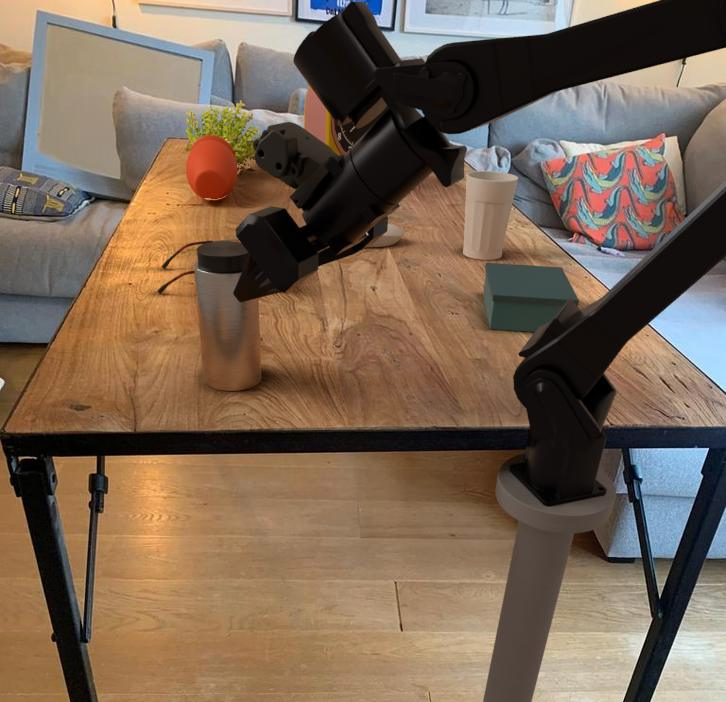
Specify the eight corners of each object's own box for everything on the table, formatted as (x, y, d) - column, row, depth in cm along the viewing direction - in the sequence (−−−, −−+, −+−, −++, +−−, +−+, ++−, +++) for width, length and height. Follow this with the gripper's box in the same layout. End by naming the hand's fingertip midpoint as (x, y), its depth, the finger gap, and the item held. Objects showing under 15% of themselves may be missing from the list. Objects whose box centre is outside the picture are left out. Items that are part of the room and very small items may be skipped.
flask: (267, 387, 75) (263, 255, 68) (209, 394, 73) (198, 259, 66) (253, 363, 80) (248, 238, 72) (198, 370, 78) (187, 241, 70)
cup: (467, 262, 115) (477, 181, 108) (451, 247, 121) (459, 170, 115) (514, 260, 117) (526, 181, 110) (495, 246, 123) (506, 170, 117)
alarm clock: (327, 194, 151) (329, 46, 137) (302, 186, 157) (302, 43, 142) (403, 184, 162) (413, 47, 148) (377, 177, 168) (384, 44, 154)
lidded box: (575, 335, 91) (582, 300, 88) (488, 329, 91) (493, 294, 89) (558, 299, 102) (564, 267, 99) (481, 294, 102) (485, 262, 100)
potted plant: (273, 236, 143) (267, 160, 177) (274, 161, 134) (267, 96, 167) (173, 233, 141) (186, 157, 174) (166, 156, 131) (181, 91, 165)
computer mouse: (340, 240, 123) (341, 221, 121) (394, 236, 126) (395, 218, 124) (353, 249, 118) (354, 230, 116) (408, 245, 121) (410, 227, 120)
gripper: (364, 82, 65) (262, 194, 75) (252, 98, 51) (144, 235, 61) (438, 186, 67) (329, 283, 77) (349, 231, 53) (229, 343, 62)
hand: (264, 283), depth 69 cm, fingers open, 9 cm apart
